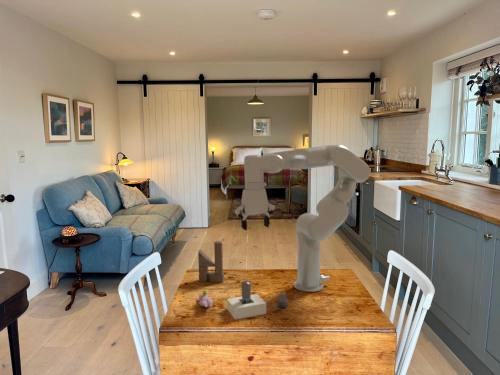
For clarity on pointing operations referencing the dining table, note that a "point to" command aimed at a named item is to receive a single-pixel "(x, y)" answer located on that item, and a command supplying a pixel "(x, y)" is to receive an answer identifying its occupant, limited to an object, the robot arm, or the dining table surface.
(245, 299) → the long pin
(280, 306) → the short pin
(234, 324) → the dining table surface
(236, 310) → the hole block
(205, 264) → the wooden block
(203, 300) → the pink toy figurine
